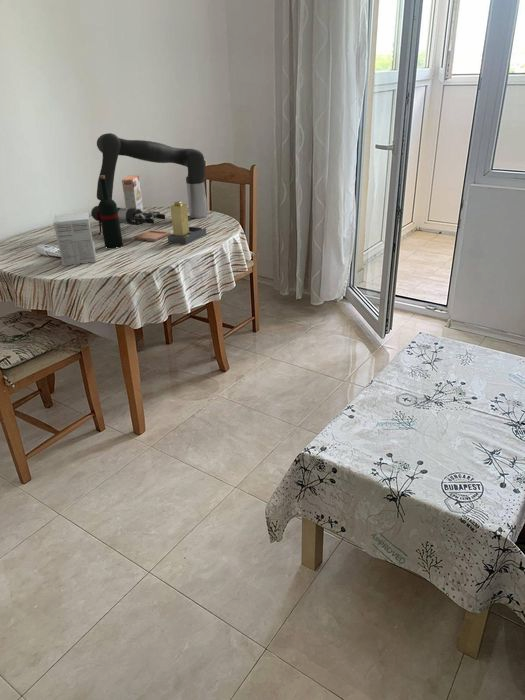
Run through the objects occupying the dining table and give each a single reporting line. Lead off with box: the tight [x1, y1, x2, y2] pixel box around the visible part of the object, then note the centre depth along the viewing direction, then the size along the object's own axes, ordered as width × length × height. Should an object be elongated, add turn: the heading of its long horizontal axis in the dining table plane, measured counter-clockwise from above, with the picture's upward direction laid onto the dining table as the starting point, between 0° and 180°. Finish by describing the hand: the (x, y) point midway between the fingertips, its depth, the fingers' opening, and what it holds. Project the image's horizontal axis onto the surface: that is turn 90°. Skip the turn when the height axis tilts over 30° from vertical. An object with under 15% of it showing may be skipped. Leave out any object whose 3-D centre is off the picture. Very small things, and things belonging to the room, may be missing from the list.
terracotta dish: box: [133, 229, 172, 243], centre depth 241 cm, size 12×12×1 cm
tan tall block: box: [169, 200, 190, 237], centre depth 230 cm, size 5×5×17 cm
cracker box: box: [121, 175, 144, 212], centre depth 271 cm, size 14×6×21 cm, turn 179°
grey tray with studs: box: [167, 226, 207, 245], centre depth 237 cm, size 17×10×3 cm, turn 155°
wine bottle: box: [97, 175, 124, 249], centre depth 224 cm, size 8×10×30 cm
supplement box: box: [53, 211, 97, 266], centre depth 211 cm, size 13×13×18 cm
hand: (159, 219), depth 234 cm, fingers open, 8 cm apart
